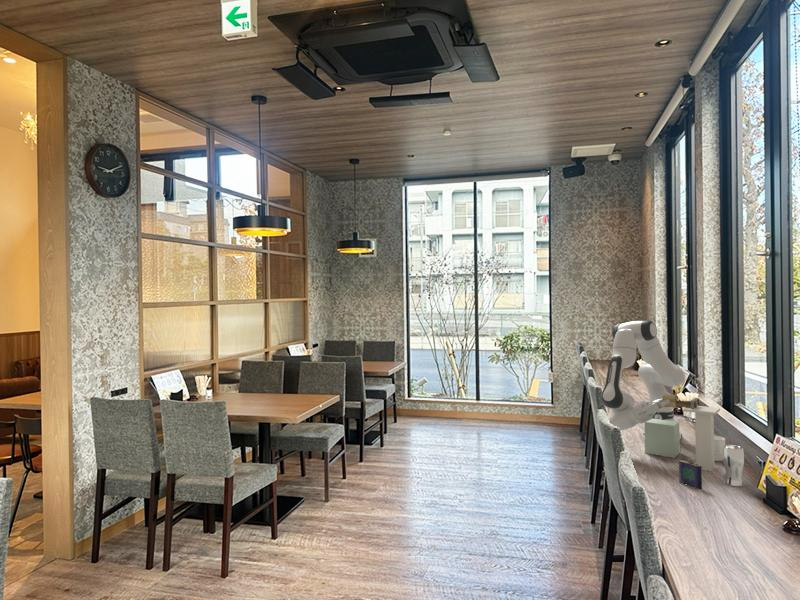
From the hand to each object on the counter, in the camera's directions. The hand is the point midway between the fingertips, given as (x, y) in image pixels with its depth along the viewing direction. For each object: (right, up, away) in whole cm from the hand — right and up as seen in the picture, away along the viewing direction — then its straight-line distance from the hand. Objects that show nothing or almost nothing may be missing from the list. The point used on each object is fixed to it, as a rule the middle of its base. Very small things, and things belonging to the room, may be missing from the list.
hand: (671, 399), depth 238 cm
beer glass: (+10, -28, -29) cm, 42 cm away
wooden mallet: (+3, -3, -2) cm, 4 cm away
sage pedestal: (+3, -29, +15) cm, 32 cm away
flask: (-8, -29, -30) cm, 42 cm away
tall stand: (+9, -28, -8) cm, 31 cm away
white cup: (+23, -29, +5) cm, 37 cm away
